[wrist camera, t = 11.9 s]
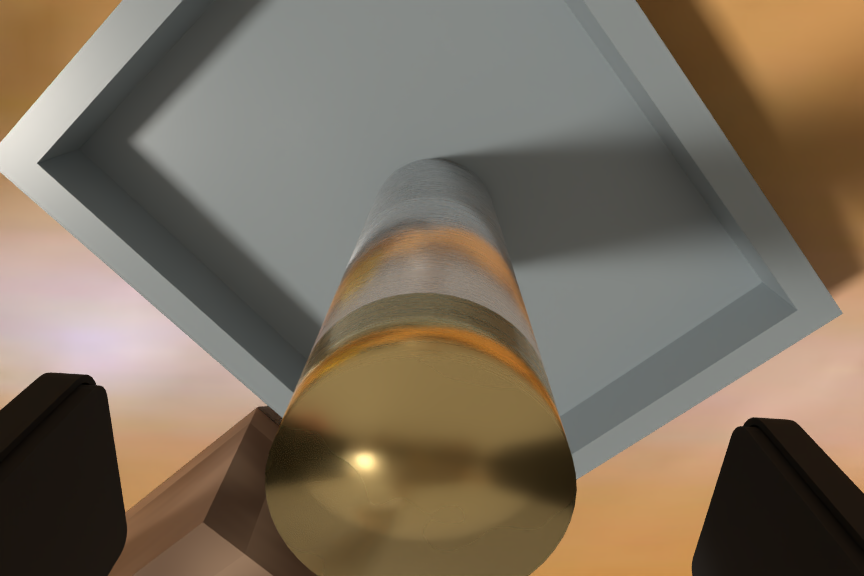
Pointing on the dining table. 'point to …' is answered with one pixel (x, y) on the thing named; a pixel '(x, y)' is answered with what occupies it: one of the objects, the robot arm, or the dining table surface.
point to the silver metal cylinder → (424, 402)
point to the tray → (411, 141)
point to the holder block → (212, 515)
